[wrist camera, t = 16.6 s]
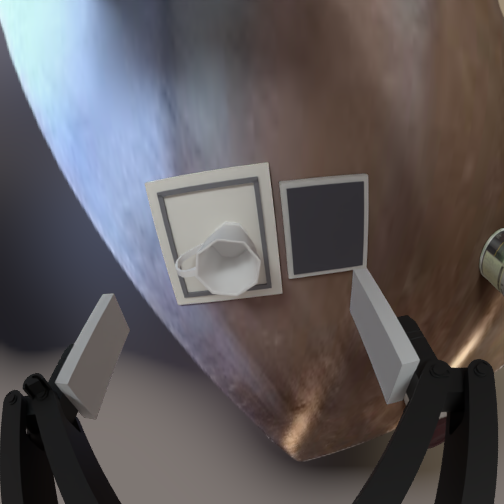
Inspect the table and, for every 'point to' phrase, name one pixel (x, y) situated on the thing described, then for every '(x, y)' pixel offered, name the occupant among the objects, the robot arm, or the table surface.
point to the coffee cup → (439, 430)
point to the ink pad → (325, 224)
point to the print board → (215, 223)
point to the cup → (224, 261)
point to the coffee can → (494, 260)
